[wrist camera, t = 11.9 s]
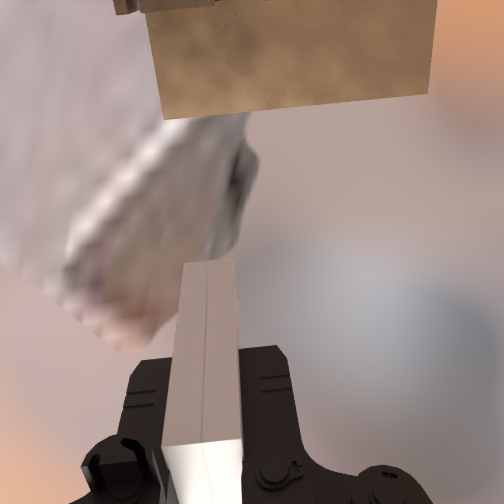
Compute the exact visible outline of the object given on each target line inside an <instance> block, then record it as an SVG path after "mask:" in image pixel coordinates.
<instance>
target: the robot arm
mask: <svg viewBox="0 0 504 504" xmlns="http://www.w3.org/2000/svg"><path fill="white" fill-rule="evenodd" d="M126 394H127V395H126V397H125V401H124V406H123V411H122V414H121V418H120V423H119V427H118V432H117V434H116V435H112V436H109V437H108V438H106V439H104V440H102V441H101V442H99V443H97V444H96V445H95V446H94V447H93V448H92V449H91V450H90V451H89V452H88V454H87V455H86V457H85V459H84V461H83V463H82V465H81V469H82V471H83V474H84V476H85V478H86V481H87V483H88V485H89V488H90V490H91V491H90V492H89V493H88V494H86V495H85V496H84V497H82V498H80V499H78V500H76V501H74V502H72V503H69V504H433V503H432V501H431V500H430V499H429V497H428V495H427V494H426V493H425V491H424V490H423V488H422V486H421V485H420V484H419V483H418V482H417V481H416V480H415V479H414V478H413V477H412V476H411V475H410V474H408V473H406V472H404V471H403V470H401V469H399V468H397V467H392V466H387V465H378V466H372V467H369V468H367V469H366V470H364V471H362V472H361V473H359V475H358V476H352V475H347V474H342V473H338V472H334V471H331V470H328V469H325V468H324V467H322V466H320V465H319V464H317V463H316V462H315V461H314V460H312V459H311V458H310V457H309V455H308V454H307V452H306V450H305V449H304V446H303V443H302V440H301V434H300V428H299V423H298V417H297V412H296V406H295V400H294V395H293V390H292V384H291V378H290V373H289V367H288V361H287V358H286V356H285V355H284V354H283V353H282V351H281V350H280V349H279V348H278V346H277V345H273V346H263V347H253V348H244V349H242V336H241V324H240V315H239V307H238V299H237V290H236V283H235V274H234V267H233V258H229V259H219V260H209V261H199V262H190V263H184V269H183V277H182V285H181V293H180V301H179V309H178V317H177V325H176V333H175V341H174V349H173V357H169V358H160V359H150V360H141V362H140V363H139V364H138V366H137V367H136V368H135V370H134V371H133V373H132V374H131V375H130V379H129V383H128V387H127V392H126Z"/></svg>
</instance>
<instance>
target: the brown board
mask: <svg viewBox="0 0 504 504" xmlns="http://www.w3.org/2000/svg"><path fill="white" fill-rule="evenodd" d="M113 2H114V6H115V11H116V15H125V14H130V13H133V12H136V11H138V10H140V11H141V13H145V15H146V21H147V27H148V32H149V38H150V43H151V49H152V55H153V60H154V66H155V72H156V77H157V83H158V88H159V94H160V100H161V105H162V111H163V116H164V120H169V119H179V118H189V117H199V116H209V115H219V114H230V113H240V112H250V111H259V110H270V109H280V108H290V107H299V106H308V105H309V106H310V105H320V104H329V103H340V102H350V101H359V100H370V99H379V98H390V97H401V96H411V95H420V94H428V84H429V75H430V66H431V57H432V46H433V37H434V27H435V18H436V9H437V0H113Z"/></svg>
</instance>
